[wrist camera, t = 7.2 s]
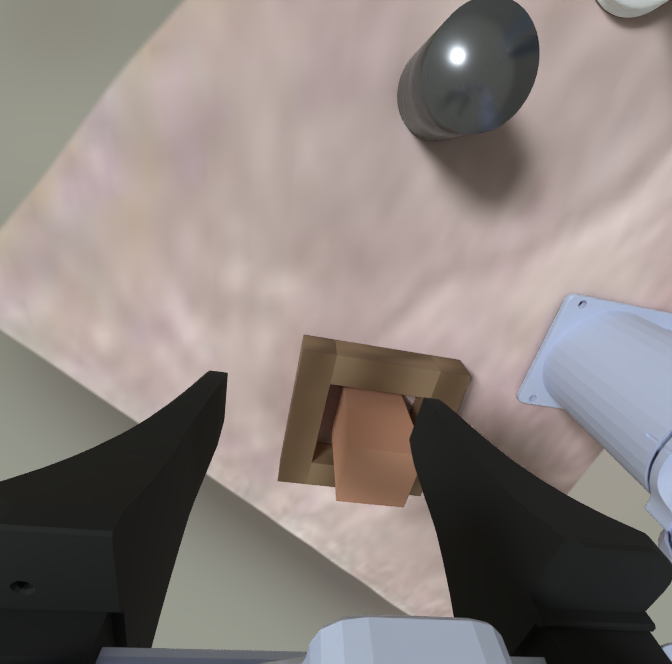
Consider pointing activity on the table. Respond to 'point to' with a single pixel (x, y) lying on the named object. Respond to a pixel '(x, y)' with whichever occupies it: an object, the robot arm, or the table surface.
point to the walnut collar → (359, 372)
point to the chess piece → (630, 7)
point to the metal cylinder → (470, 72)
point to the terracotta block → (372, 448)
